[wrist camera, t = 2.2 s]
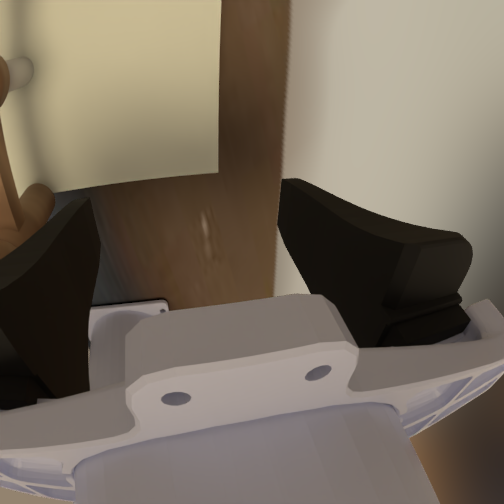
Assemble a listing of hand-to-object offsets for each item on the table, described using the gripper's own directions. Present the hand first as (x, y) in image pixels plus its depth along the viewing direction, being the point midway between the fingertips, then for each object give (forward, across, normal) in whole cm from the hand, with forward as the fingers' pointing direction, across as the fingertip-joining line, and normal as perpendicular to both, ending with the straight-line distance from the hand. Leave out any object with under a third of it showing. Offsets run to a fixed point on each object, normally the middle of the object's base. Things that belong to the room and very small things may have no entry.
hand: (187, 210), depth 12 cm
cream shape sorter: (+9, +4, -11) cm, 15 cm away
